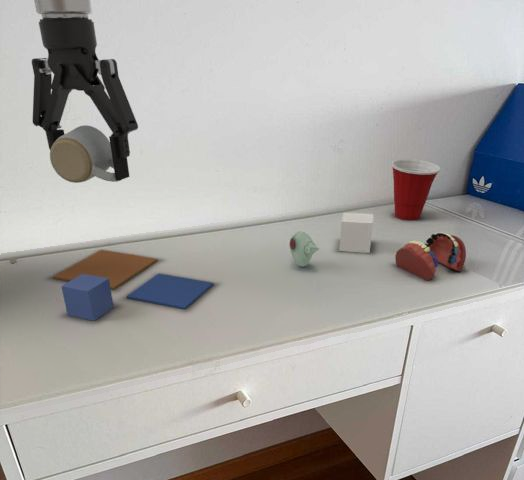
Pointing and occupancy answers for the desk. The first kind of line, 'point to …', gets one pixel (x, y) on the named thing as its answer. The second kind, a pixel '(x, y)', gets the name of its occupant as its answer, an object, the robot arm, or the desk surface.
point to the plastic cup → (412, 186)
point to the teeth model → (432, 255)
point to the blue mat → (170, 291)
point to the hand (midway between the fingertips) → (92, 175)
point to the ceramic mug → (82, 155)
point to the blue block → (87, 297)
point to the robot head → (302, 248)
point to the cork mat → (108, 267)
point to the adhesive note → (356, 232)
